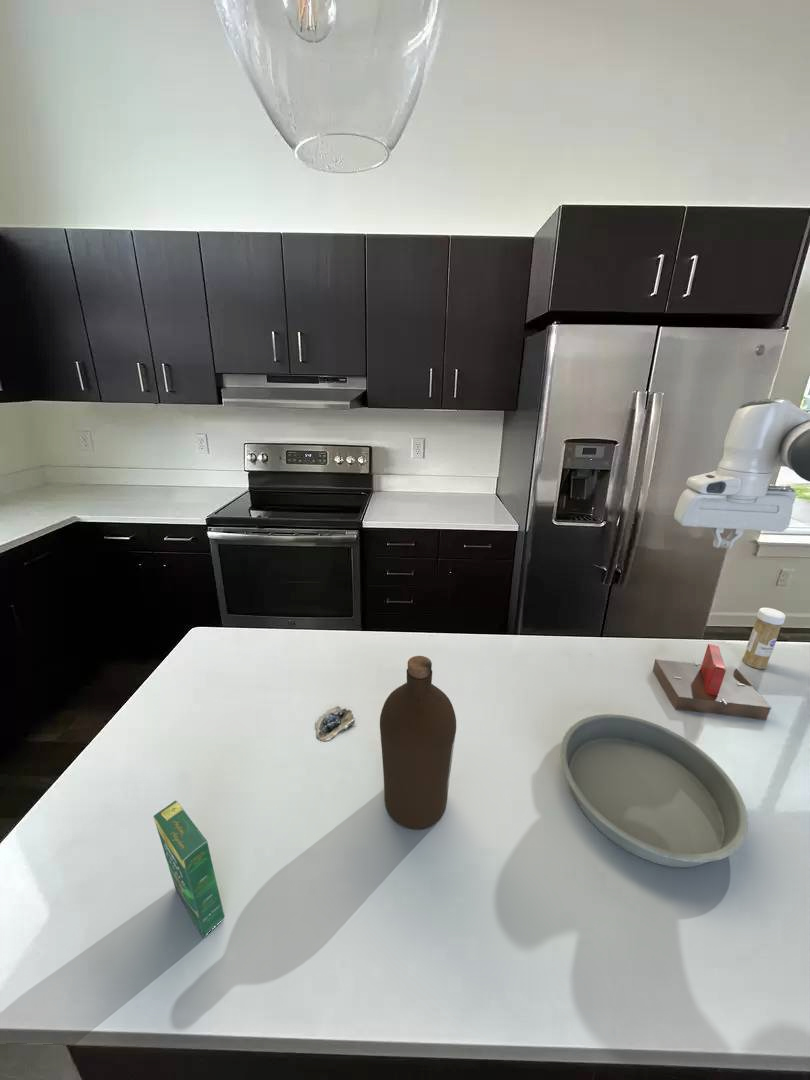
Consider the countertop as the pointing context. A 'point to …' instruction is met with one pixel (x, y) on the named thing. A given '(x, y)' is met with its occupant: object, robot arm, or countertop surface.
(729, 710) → the base
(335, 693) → the countertop surface
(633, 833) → the cake pan
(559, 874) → the countertop surface
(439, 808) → the olive oil
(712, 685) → the red block
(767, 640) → the sprinkles bottle
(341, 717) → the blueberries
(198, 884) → the coffee box
